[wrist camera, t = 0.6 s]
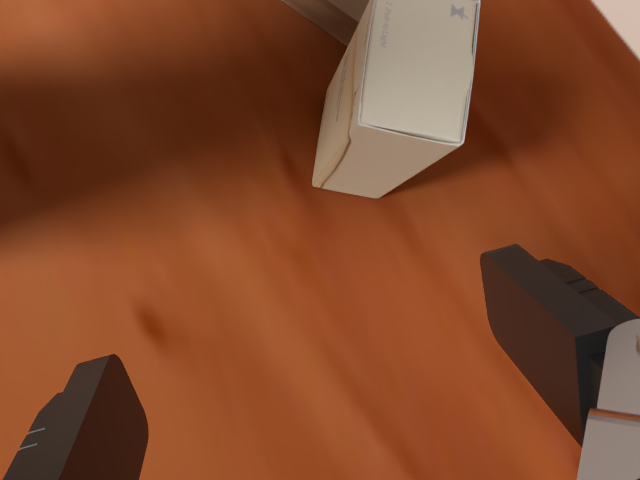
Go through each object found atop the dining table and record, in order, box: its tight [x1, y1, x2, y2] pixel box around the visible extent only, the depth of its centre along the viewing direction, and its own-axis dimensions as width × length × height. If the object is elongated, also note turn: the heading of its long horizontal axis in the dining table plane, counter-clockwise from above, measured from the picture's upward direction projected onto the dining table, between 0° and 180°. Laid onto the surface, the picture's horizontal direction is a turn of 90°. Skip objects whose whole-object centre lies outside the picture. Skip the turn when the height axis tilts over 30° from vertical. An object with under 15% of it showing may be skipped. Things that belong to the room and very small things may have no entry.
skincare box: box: [312, 0, 481, 198], centre depth 27 cm, size 6×4×12 cm
